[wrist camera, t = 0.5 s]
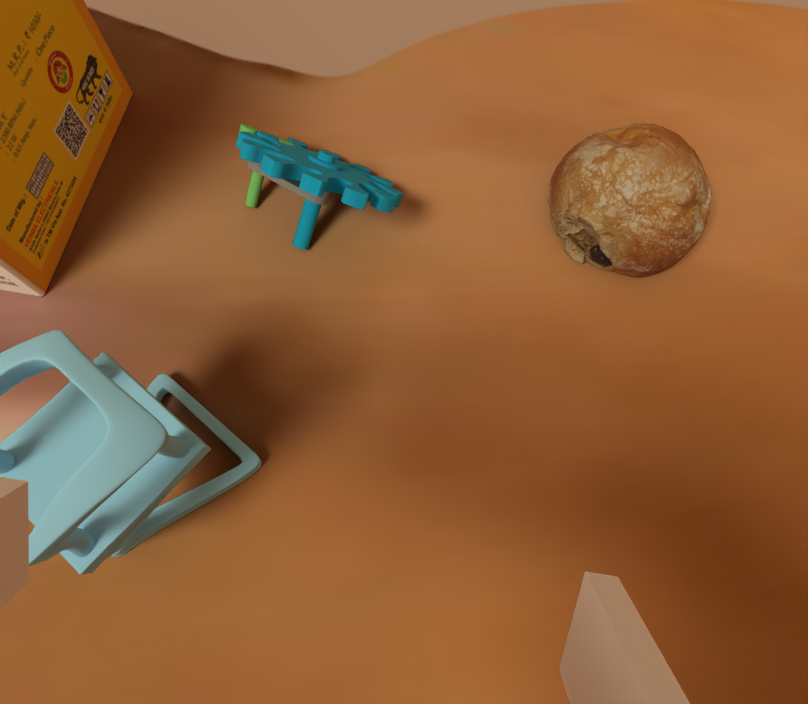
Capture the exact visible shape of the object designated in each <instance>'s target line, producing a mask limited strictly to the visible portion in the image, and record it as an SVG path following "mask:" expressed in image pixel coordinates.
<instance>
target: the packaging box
mask: <svg viewBox="0 0 808 704" xmlns="http://www.w3.org/2000/svg"><path fill="white" fill-rule="evenodd" d="M132 95H133V92H132V91H131V89H130V87H129V85H128V83H127V81H126V79H125V77H124V76H123V74H122V72H121V70H120V68H119V66H118V64H117V62H116V61H115V59H114V57H113V55H112V53H111V51H110V49H109V47H108V46H107V44H106V42H105V40H104V38H103V36H102V34H101V32H100V31H99V29H98V27H97V25H96V23H95V21H94V19H93V17H92V16H91V14H90V12H89V10H88V8H87V6H86V4H85V2H84V1H83V0H0V290H4V291H10V292H16V293H22V294H29V295H35V296H41V297H42V296H44V294H45V292H46V290H47V288H48V285H49V283H50V281H51V278H52V276H53V274H54V272H55V269H56V267H57V265H58V263H59V260H60V258H61V256H62V253H63V251H64V249H65V247H66V244H67V242H68V240H69V238H70V235H71V233H72V231H73V229H74V226H75V224H76V222H77V219H78V217H79V215H80V213H81V210H82V208H83V206H84V204H85V201H86V199H87V197H88V195H89V192H90V190H91V188H92V185H93V183H94V181H95V179H96V176H97V174H98V172H99V170H100V167H101V165H102V163H103V161H104V158H105V156H106V154H107V151H108V149H109V147H110V145H111V142H112V140H113V138H114V136H115V133H116V131H117V129H118V126H119V124H120V122H121V120H122V117H123V115H124V113H125V111H126V108H127V106H128V104H129V102H130V99H131V97H132Z"/></svg>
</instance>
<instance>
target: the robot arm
mask: <svg viewBox="0 0 808 704" xmlns="http://www.w3.org/2000/svg"><path fill="white" fill-rule="evenodd" d="M28 584H29V525H28V481H24V480H17V479H11V478H5V477H0V609H1V608H2V607H3V606H4V605H5V604H6V603H7V602H9V601H10V600H11V599H12V598H13V597H14V596H15V595H16V594H18V593H19V592H20V591H21V590H22V589H23V588H24V587H25V586H27V585H28ZM559 671H560V674H561V678H562V681H563V684H564V687H565V690H566V693H567V697H568V700H569V703H570V704H690V703H689V701H688V699H687V697H686V696H685V694H684V692H683V690H682V689H681V687H680V685H679V683H678V682H677V680H676V678H675V676H674V674H673V673H672V671H671V669H670V667H669V666H668V664H667V662H666V660H665V659H664V657H663V655H662V653H661V652H660V650H659V648H658V646H657V645H656V643H655V641H654V639H653V638H652V636H651V634H650V632H649V631H648V629H647V627H646V625H645V624H644V622H643V620H642V618H641V617H640V615H639V613H638V611H637V609H636V608H635V606H634V604H633V602H632V601H631V599H630V597H629V595H628V594H627V592H626V590H625V588H624V587H623V585H622V583H621V581H620V580H619V578H618V576H611V575H605V574H599V573H593V572H587V571H585V574H584V578H583V581H582V585H581V589H580V593H579V596H578V600H577V604H576V607H575V611H574V615H573V618H572V622H571V626H570V630H569V633H568V637H567V641H566V644H565V648H564V652H563V656H562V659H561V663H560V667H559Z"/></svg>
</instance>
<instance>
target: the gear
mask: <svg viewBox="0 0 808 704" xmlns="http://www.w3.org/2000/svg"><path fill="white" fill-rule="evenodd" d="M307 146H308V145H307V144H305V143H302V142H300V141H297V140H294V139H291V138H288V140H287V141H286V140H283V139H278V137H276V136H274V135H272V134H268V133H265V132H260V131H258V130H257V129H256V128H254V127H251V126H248V125H245V124H241V126H240V130H239V135H238V139H237V144H236V147H238V148H240V149H241V150H240V154H239V156H240V158H242V159H244V160H247V165H246V166H247V167H248V168H249V169H251V170H253V172H252V176H251V181H250V185H249V189H248V193H247V197H246V202H245V204H246V205H247V206H249V207H253V208H256V207H257V203H258V199H259V195H260V191H261V187H262V183H263V179H264V177H266V178H268V179H270V180H271V181H273V182H275V183H277V184H279V185H281V186H282V187H284V188H286V189H288V190H290V191H292V192H294V193H295V194H297V195H299V196H301V197H303V198H305V202H304V205H303V209H302V212H301V216H300V219H299V223H298V226H297V229H296V233H295V236H294V240H293V243H292V244H293V245H294V246H295V247H297V248H300V249H305V250H306V249H308V247H309V244H310V241H311V238H312V234H313V231H314V228H315V224H316V221H317V218H318V215H319V211H320V208H321V205H327V203H328V199H329V196H330V193H331V192H335V193H339V194H341V195H343V196H342V199H341V201H342V202H343V203H344V204H346V205H349V206H352V207H355V208H359V209H362V210H364V208H365V205H366V202H367V200H368V201H369V202H371V206H372V207H374V208H375V209H377V210H380V211H384V212H392V211H393V209H394V207H398V206H399V203H400V201H401V198H402V195H403V192H401V191H399V190H396V189H394V188H393V185H394V184H393V183H392V182H391V181H389V180H387V179H384V178H381V177H377V176H373V175H371V174H372V171H371V170H369V169H368V168H366V167H364V166H362V165H359V164H350V163H345V162H342V161H340V160H341V157H340V156H338V155H336V154H334V153H331V152H329V151H327V150H319V152H314V151H310V150H307Z"/></svg>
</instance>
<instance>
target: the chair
mask: <svg viewBox="0 0 808 704" xmlns="http://www.w3.org/2000/svg"><path fill="white" fill-rule="evenodd" d="M53 368H58V369H59V370H60V371H61V372H63V373H64V374H65V375H66V376H67V377H68V378H69V379H70V380H71V381H70V382H69V383H68V384H67V385H66V386H65V387H64V388H63V389H62V390H61V391H60V392H59V393H58V394H57V395H56V396H55V397H54V398H53V399H51V400H50V401H49V402H48V403H47V404H46V405H45V406H44V407H42V408H41V409H40V410H39V411H38V412H37V413H36V414H35V415H33V416H32V417H31V418H30V419H29V420H28V421H26V422H25V423H24V424H23V425H21V426H20V427H19V428H18V429H17V430H15V431H14V432H13V433H12V434H11V435H9V436H8V437H7V438H6V439H4V440H3V441H2V442H1V443H0V477H5V478H11V479H17V480H24V481H28V519H29V520H30V521H31V522H32V523H33V524H34V525H35V528H34V529H33V531H32V532H31V534H30V535H29V566H32V565H34V564H37V563H39V562H42V561H45V560H47V559H49V558H51V557H52V556H54V555H55V554H57V553H60V554H61V555H62V556H63V557H64V558H65V559H66V560H67V561H68V562H69V563H70V564H71V565H72V566H73V567H74V568H75V569H76V571H77V572H78V573H79V574H87V573H92V572H93V571H94V570H95V569H96V568H97V567H98V566H99V565H100V564H101V563H102V562H103V561H104V560H105V559H107V558H108V557H110V556H113V557H120V556H122V555H124V554H126V553H127V552H129V551H130V550H131V549H133V548H134V547H136V546H137V545H138V544H140V543H141V542H143V541H144V540H146V539H147V538H149V537H150V536H152V535H153V534H155V533H156V532H158V531H159V530H161V529H163V528H164V527H166V526H168V525H170V524H171V523H173V522H175V521H176V520H178V519H180V518H181V517H183V516H185V515H187V514H188V513H190V512H192V511H194V510H195V509H197V508H199V507H200V506H202V505H204V504H206V503H207V502H209V501H211V500H213V499H214V498H216V497H218V496H220V495H221V494H223V493H225V492H226V491H228V490H230V489H231V488H233V487H235V486H236V485H238V484H240V483H241V482H243V481H244V480H246V479H247V478H249V477H250V476H251V475H253V474H254V473H255V472H256V471H257V470H258V469H259V468H260V467H261V465H262V461H261V459H260V458H259V456H258V455H257V454H256V453H255V452H254V451H252V450H251V449H250V448H249V447H248V446H247V445H246V444H245V443H243V442H242V441H241V440H240V439H239V438H238V437H237V436H236V435H235V434H233V433H232V432H231V431H230V430H229V429H228V428H227V427H226V426H224V425H223V424H222V423H221V422H220V421H219V420H218V419H217V418H215V417H214V416H213V415H212V414H211V413H210V412H209V411H208V410H207V409H205V408H204V407H203V406H202V405H201V404H200V403H199V402H198V401H196V400H195V399H194V398H193V397H192V396H191V395H190V394H189V393H188V392H186V391H185V390H184V389H183V388H182V387H181V386H180V385H179V384H177V383H176V382H175V381H174V380H173V379H172V378H171V377H170V376H168V375H166V374H160V375H158V376H157V377H156V378H155V379H154V380H153V381H152V382H151V384H150V385H149V386H148V388H147V389H145V388H144V387H143V386H142V385H141V384H140V383H139V382H138V381H137V380H136V379H135V378H134V377H133V376H131V375H130V374H129V373H128V372H127V371H126V370H125V369H124V368H123V367H122V366H121V365H119V364H118V363H117V362H116V361H115V360H114V359H113V358H112V357H110V356H109V355H107V354H106V353H104V352H102V353H101V354H100V355H99V356H98V357H96V358H95V359H94V360H93V361H91V360H90V359H89V358H88V357H87V356H86V355H85V354H84V353H83V352H82V351H81V350H80V349H79V348H78V347H77V346H76V344H75V343H74V342H73V341H72V340H71V339H70V338H69V337H68V336H67V335H66V334H65V333H64V332H63V331H61V330H53V331H50V332H47V333H45V334H42V335H40V336H37V337H35V338H33V339H30V340H28V341H26V342H23V343H21V344H19V345H16V346H14V347H12V348H10V349H8V350H6V351H4V352H2V353H0V396H1V395H2V394H4V393H5V392H6V391H8V390H9V389H10V388H12V387H13V386H15V385H16V384H18V383H20V382H22V381H23V380H25V379H27V378H29V377H31V376H33V375H36V374H38V373H41V372H43V371H45V370H49V369H53ZM167 392H169V393H171V394H173V395H174V396H175V397H176V398H177V399H178V400H179V401H180V402H181V403H182V404H183V405H184V406H185V407H187V408H188V409H189V410H190V411H191V412H192V413H193V414H194V415H195V416H196V417H197V418H198V419H199V420H200V421H201V422H203V423H204V424H205V425H206V426H207V427H208V428H209V429H210V430H211V431H212V432H213V433H214V434H215V435H216V436H217V437H218V438H220V439H221V440H222V441H223V442H224V443H225V444H226V445H227V446H228V447H229V448H230V449H231V450H232V451H233V452H234V453H236V454H237V455H238V456H239V457H240V459H241V461H242V463H241V464H240V465H238V466H237V467H235V468H233V469H231V470H229V471H227V472H226V473H224V474H222V475H220V476H218V477H216V478H214V479H212V480H210V481H208V482H206V483H204V484H202V485H200V486H198V487H196V488H194V489H192V490H190V491H188V492H186V493H184V494H183V495H181V496H179V497H177V498H175V499H173V500H171V501H169V502H167V503H165V504H163V505H161V506H159V507H158V508H156V507H157V506H158V504H159V503H160V502H161V501H162V500H163V499H164V498H165V496H166V495H167V494H168V493H169V492H170V491H171V490H172V488H173V487H174V486H175V485H176V484H177V483H178V482H180V481H181V480H182V479H183V478H184V477H185V476H186V475H187V474H188V473H189V472H190V471H191V470H192V469H193V468H194V467H195V466H196V465H197V464H198V463H199V462H200V460H201V459H202V458H203V457H204V456H205V455H206V454H207V453H208V452H209V451H210V450H211V448H210V447H209V446H208V445H207V444H206V443H204V442H203V441H202V440H201V439H200V438H199V437H198V436H197V435H196V434H195V433H194V432H192V431H191V430H190V429H189V428H188V427H187V426H186V425H185V424H184V423H183V422H181V421H180V420H179V419H178V418H177V417H176V416H175V415H174V414H172V413H171V412H170V411H169V410H168V409H167V408H166V407H165V406H164V405H163V404H162V403H160V402H161V400H162V398H163V397H164V395H165V394H166V393H167ZM155 508H156V509H155Z"/></svg>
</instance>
